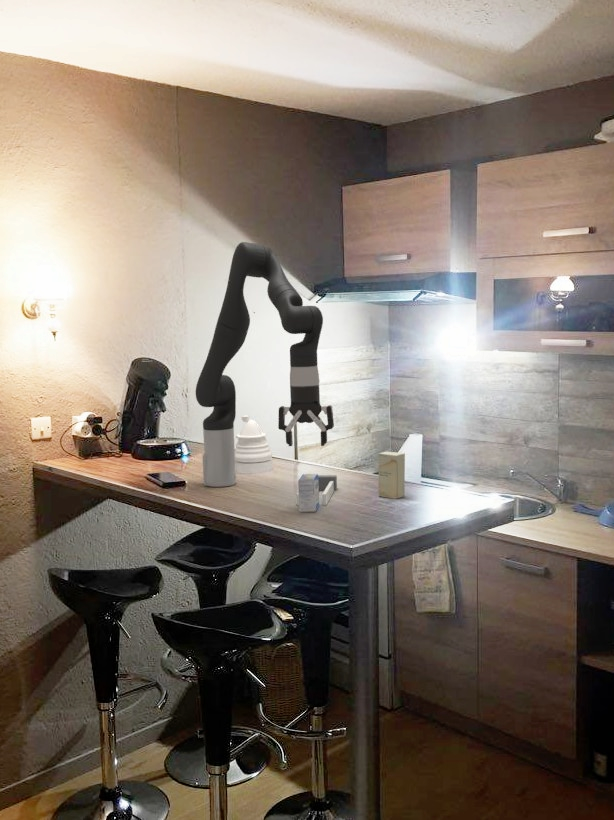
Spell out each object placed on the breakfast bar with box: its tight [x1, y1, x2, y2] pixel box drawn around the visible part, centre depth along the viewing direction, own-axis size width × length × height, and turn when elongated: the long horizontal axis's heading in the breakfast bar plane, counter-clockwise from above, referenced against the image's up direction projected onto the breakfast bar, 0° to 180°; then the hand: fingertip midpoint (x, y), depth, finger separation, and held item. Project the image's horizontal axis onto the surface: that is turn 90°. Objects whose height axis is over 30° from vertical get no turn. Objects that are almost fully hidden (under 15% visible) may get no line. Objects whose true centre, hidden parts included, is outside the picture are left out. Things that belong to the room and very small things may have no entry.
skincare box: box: [378, 451, 406, 500], centre depth 232 cm, size 6×4×12 cm
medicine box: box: [297, 473, 320, 513], centre depth 222 cm, size 8×4×9 cm, turn 172°
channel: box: [296, 474, 338, 506], centre depth 236 cm, size 9×20×4 cm, turn 171°
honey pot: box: [235, 415, 273, 475], centre depth 278 cm, size 13×13×18 cm
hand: (306, 445), depth 219 cm, fingers open, 8 cm apart
